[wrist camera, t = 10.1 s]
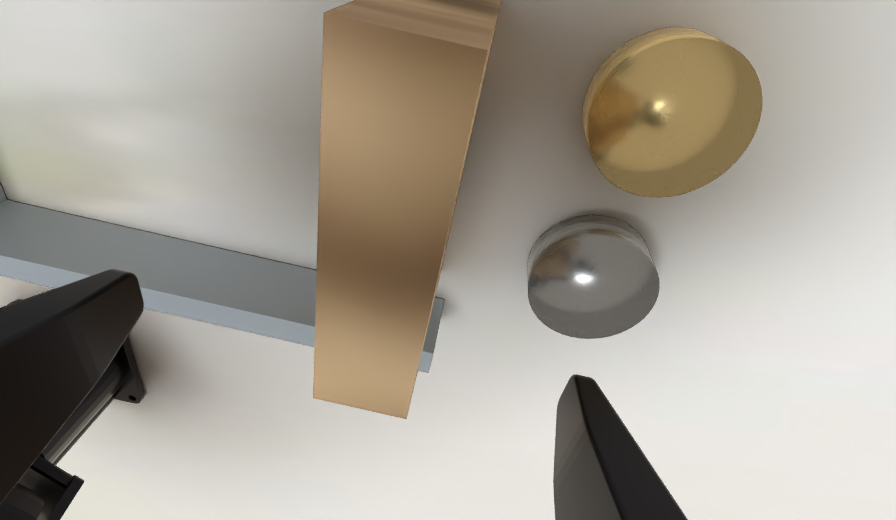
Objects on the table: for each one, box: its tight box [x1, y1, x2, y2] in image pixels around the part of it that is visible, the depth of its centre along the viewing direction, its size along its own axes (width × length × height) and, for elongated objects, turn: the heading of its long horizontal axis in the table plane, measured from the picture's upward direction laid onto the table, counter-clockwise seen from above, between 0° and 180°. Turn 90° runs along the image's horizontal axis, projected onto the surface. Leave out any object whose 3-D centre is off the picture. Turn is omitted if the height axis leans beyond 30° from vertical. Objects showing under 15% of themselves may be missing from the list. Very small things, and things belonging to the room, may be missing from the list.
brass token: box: [583, 27, 762, 197], centre depth 15 cm, size 5×5×2 cm
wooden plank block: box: [313, 0, 501, 419], centre depth 15 cm, size 11×3×8 cm, turn 170°
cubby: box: [0, 184, 444, 373], centre depth 17 cm, size 16×22×4 cm
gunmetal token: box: [528, 215, 659, 339], centre depth 19 cm, size 5×5×2 cm
